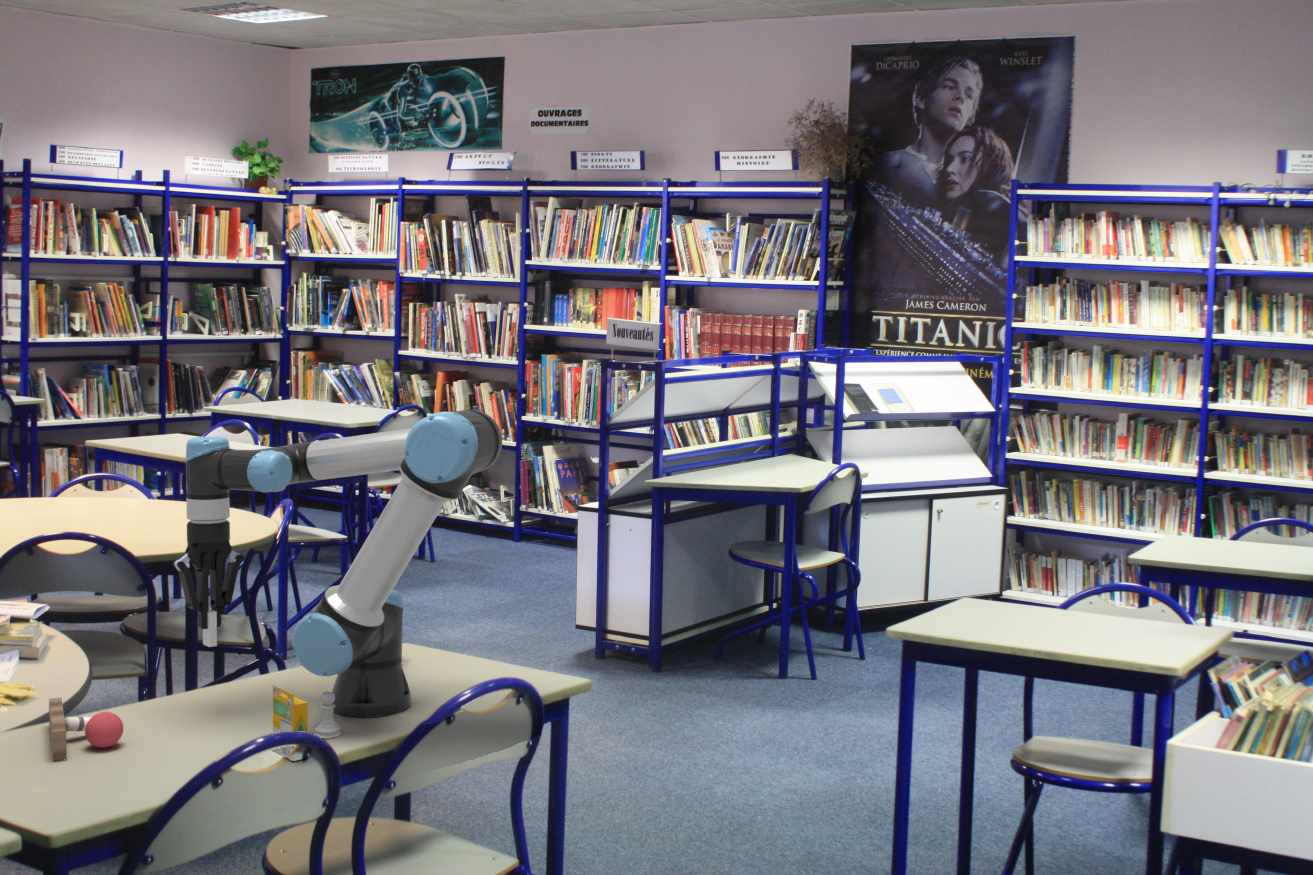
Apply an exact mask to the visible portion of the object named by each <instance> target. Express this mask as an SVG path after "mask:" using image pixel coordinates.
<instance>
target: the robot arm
mask: <svg viewBox="0 0 1313 875" xmlns="http://www.w3.org/2000/svg"><path fill="white" fill-rule="evenodd" d="M502 447H503V436H502V431H501V429H500V426H499V424H498V423H497V422H496V421H495V419H494V418H492V417H491V416H490V415H489V414H487V413H486V412H484V411H481V410H476V409H463V410H458V411H457V410H456V411H440V412H434V413H431V414H429V415H428V416H426V417H423V418H422V419H420V420H418V422H416V423H415V424H414V425H413V426H412V428H404V429H396V430H389V431H382V432H373V433H368V434H359V435H352V436H346V437H339V438H338V437H337V438H331V439H323V440H316V441H309V442H297V443H292V444H287V445H281V446H275V447H267V448H260V449H235V448H234V449H233V448H231V447H230V442H229V439H228V438H227V437H221V436H196V437H192V438H189V439H188V440H187V441H186V448H185V449H186V450H185V451H186V452H185V460H184V463H185V475H186V476H185V477H186V519H187V520H189V521H188V522H187V523H186V542H187V546H186V548H185V552H184V555H183V556H181V557H180V558H179V559H174V560H173V561H172V565H173V566H174V568H175V569H176V571H177V572H178V575H179V580H180V582H181V588H182V591H183V595H184V599H185V602H186V603H185V604H186V605H187V608H188V609H190V610H192V611H196V612H197V625H198V628H199V629H201V630H202V645H203V646H206V647H208V648H211V647H212V648H213V647H217V646H218V628H219V627H221V625H222V612H223V611H224V609H225V607H227V606H228V607H229V606H231V604H232V601H233V596H234V591H235V588H236V582H237V577H238V573H239V569H240V568H239V567H240V566H241V564H242V563H243V560H244V558H245V556H244V555H243V554H241V553H238V552H236V551H234V550H233V547H232V545H231V544H230V539H231V529H230V528H231V526H230V525H231V523H230V521H229V520H228V519H229V518H230V516H231V515H230V513H231V512H230V508H231V507H230V491H233V490H235V491H248V492H249V491H250V492H251V491H252V492H261V493H265V494H266V493H271V492H272V493H278V492H282V491H284V490H285V489H286V488H287V486H289V485H294V484H300V483H308V482H309V483H310V482H316V481H322V480H331V479H338V478H346V477H355V476H363V475H372V474H380V473H388V472H395V471H400V474H401V477H402V478H401V479H400V482H399V483H398V485H397V486H396V489H395V490H394V491H393V493H392V495H391V496H390V499H389V501H388V502H387V504H386V505H385V507H384V508H383V510H382V512H381V513H380V515H379V517H378V519H377V520H376V523H375V524H374V525H373V528H372V529H371V531H370V532H369V534H368V536H367V538H366V539H365V541H364V542H363V544H362V545H361V548H360V549H359V551H358V552H357V555H356V556H355V557H354V559H353V562H352V563H351V564H350V567H349V568H348V570H347V571H346V573H345V575H344V577H343V579H342V580H341V581H340V583H339V584H338V585H333V586H330V587H328V588H326V590H325V592H324V594H323V595H322V597H321V599H320V601H319V602H318V604H317V605H316V607H315V609H314V610H313V612H312V613H310V614H306V615H304V616H303V617H302V619H300V620H299V621H298V622H297V623H296V625H295V626H294V629H293V632H292V636H291V637H292V638H291V639H292V640H291V643H292V648H293V650H294V655H295V657H296V659H297V661H298V662H299V663H300V665H301V666H302V667H303V668H304V669H305V670H307V671H308V672H310V673H311V674H313V675H316V676H319V677H331V676H335V675H336V679H335V681H334V683H333V687H332V690H331V692H332V693H334V695H335V701H334V702H333V703H332V704H335V705H336V706H335V707H334V709H333V713H337V714H340V715H342V716H348V717H355V718H356V717H357V718H370V717H371V718H375V717H384V716H389V715H394V714H397V713H400V712H403V711H405V710H407V709H409V707H410V706H411V690H410V686H409V684H408V683H409V682H408V681H407V677H406V674H405V671H404V667H403V660H402V659H403V658H402V656H403V619H404V618H403V617H404V616H403V614H404V612H403V611H404V606H403V596H402V593H401V592H400V591H399V590H397V589H394V588H395V586H396V585H397V583H398V581H399V580H400V578H401V576H402V575H403V573H404V572H405V570H406V569H407V567H408V564H409V563H410V562H411V560H412V558H413V557H414V555H415V553H416V552H417V550H418V548H419V547H420V545H421V544H422V542H423V540H424V538H425V536H427V533H428V531H429V529H430V528H431V527H432V525H433V523H434V521H435V520H436V518H437V517H438V515H439V513H440V512H441V510H442V508H443V506H444V505H445V503H447V502H452V501H456V500H458V499H459V497H460V495H461V494H462V492H463V491H464V488H465V487H466V485H467V484H468V482H469V480H470V479H471V477H472V476H473V475H474V474H478V473H481V472H483V471H485V470H487V469H489V468H490V467H491V466H493V465H494V463H495V462H496V461H497V459H498V458H499V457H500V454H501V451H502V449H503V448H502ZM226 561H227V565H226V568H225V574H224V576H223V573H224V568H223V566H224V564H225V563H226ZM190 563H191V564H192V566H193V567H194V573H195V576H196V588H195V584H194V581H193V577H192V574H191V571H190V569H189V568H190ZM223 577H224V578H223ZM222 578H223V579H222ZM222 580H223V581H222Z"/></svg>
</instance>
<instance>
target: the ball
mask: <svg viewBox="0 0 1313 875" xmlns="http://www.w3.org/2000/svg"><path fill="white" fill-rule="evenodd" d="M91 717H92V718H91V719H90V720H89V721H88V723H87V725H86V728H85V731H84V735H85V738H86V740H87V742H88V743H89V744H90V745H92V746H93V747H95V748H97V749H98V748H99V749H105V748H106V749H107V748H110V747H112V746H114V745H116V744H118V742H119V741H120V739H121V738H122V736H123V734H124V723H123V721H122V719H121V718H120V716H118V715H117V714H116V713H113V712H110V711H101V712H99V713H96V714H94V715H93V716H91Z"/></svg>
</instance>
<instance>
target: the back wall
mask: <svg viewBox="0 0 1313 875" xmlns="http://www.w3.org/2000/svg"><path fill="white" fill-rule="evenodd" d="M64 713H65V712H64V707H63V699H62V697H52V698H51V697H50V698H48V716H49V718H48V720H49V721H48V722H49V723H48V724H49V725H48V726H50V727H49V736H51V737H50V744H51V746H52V747H51V746H50V747H51V754H52V755H51V756H52V762H53V761H54V762H56V761H55V760H62V761H65V760H64V759H66V760H67V731H66V726H65V719H66V718H65V714H64Z"/></svg>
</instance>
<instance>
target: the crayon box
mask: <svg viewBox="0 0 1313 875" xmlns="http://www.w3.org/2000/svg"><path fill="white" fill-rule="evenodd" d="M280 693H281V694H280ZM308 727H309V702H307V701H305V700H303V699H300V698H299V697H296V696H294V694H293V693H291V692H288V691H286V690H285V689H282V688H281V687H278V686H276V685H272V735H273V734H275V733H280V732H291V731H305V732H309V728H308ZM293 749H294V746H286V747H280V748H276V749H273V750H271V751H272V752H273V753H276V754H277V755H279V756H281V757H283V758H285V759H287V758H286V757H287V756H288V755H289V754H290V753H291V752H292V751H293Z"/></svg>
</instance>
